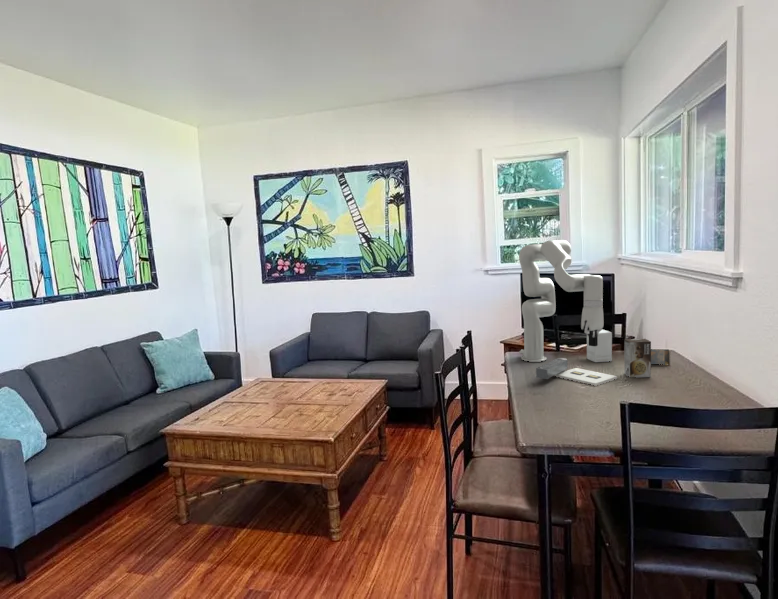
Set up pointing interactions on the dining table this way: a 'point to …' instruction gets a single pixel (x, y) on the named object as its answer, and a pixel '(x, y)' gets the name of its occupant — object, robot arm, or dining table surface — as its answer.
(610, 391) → the dining table surface
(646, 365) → the coffee box
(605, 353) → the supplement box
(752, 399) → the dining table surface
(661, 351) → the blue grey rectangular box
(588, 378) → the label board
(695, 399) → the dining table surface
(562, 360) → the swing bar
